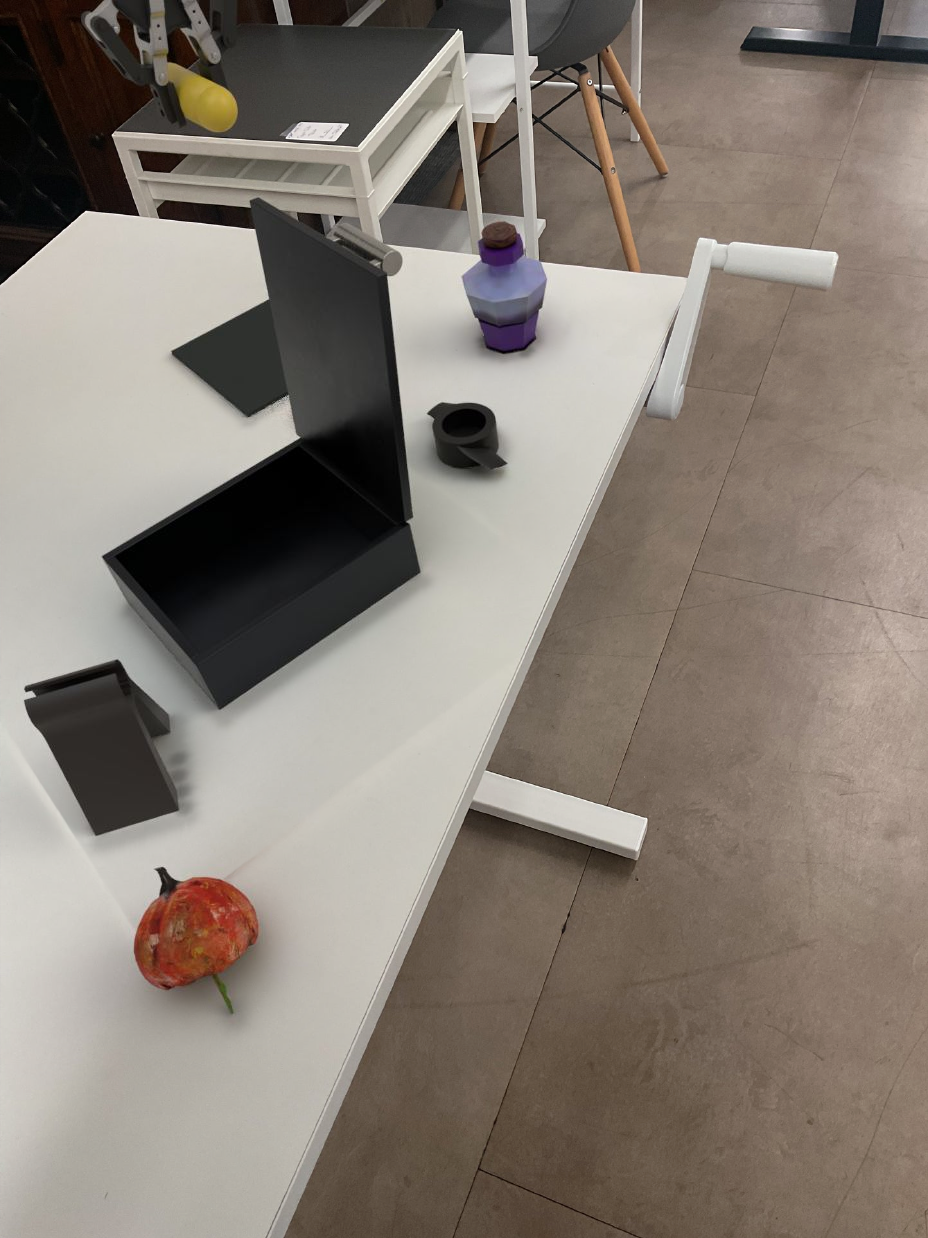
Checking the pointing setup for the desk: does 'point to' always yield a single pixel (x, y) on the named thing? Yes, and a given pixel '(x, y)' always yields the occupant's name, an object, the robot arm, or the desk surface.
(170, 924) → the painted toy pumpkin
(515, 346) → the potion bottle
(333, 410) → the lid
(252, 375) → the mat
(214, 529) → the black open box
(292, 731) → the desk surface
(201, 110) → the yellow capsule
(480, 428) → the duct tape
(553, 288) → the desk surface
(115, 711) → the phone stand
